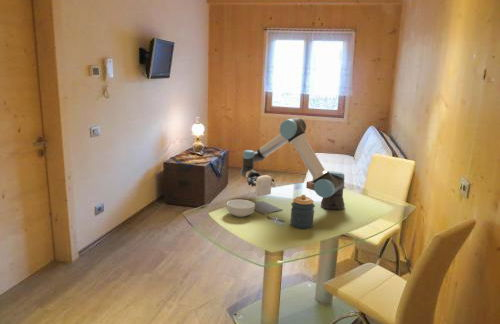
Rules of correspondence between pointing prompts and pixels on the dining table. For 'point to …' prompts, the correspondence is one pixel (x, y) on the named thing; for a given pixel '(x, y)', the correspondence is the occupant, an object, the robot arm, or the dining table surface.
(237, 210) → the cereal bowl
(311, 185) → the pen tray
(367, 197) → the dining table surface
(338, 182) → the robot arm
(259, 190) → the beige rounded block
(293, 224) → the canister
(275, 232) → the dining table surface
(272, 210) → the mat
